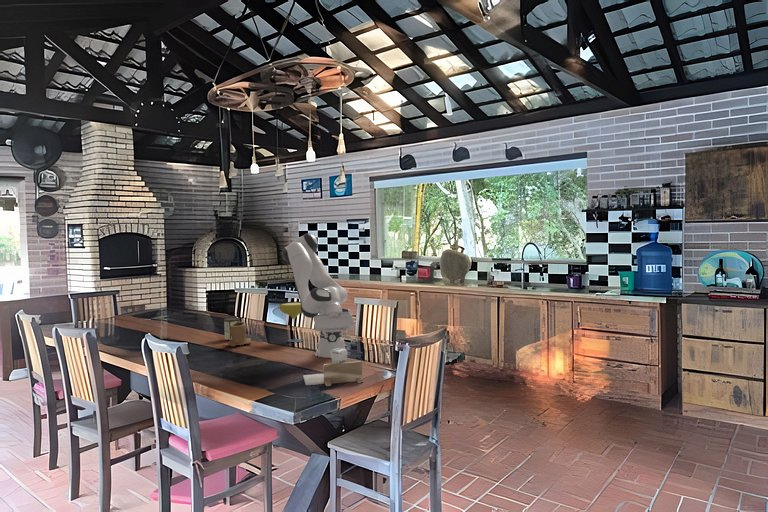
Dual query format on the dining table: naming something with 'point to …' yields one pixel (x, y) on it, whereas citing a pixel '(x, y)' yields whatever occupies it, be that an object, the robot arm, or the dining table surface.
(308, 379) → the display pad
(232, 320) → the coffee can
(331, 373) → the birch screen
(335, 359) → the syrup box
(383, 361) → the dining table surface
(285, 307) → the cocktail glass
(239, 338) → the stone cup
